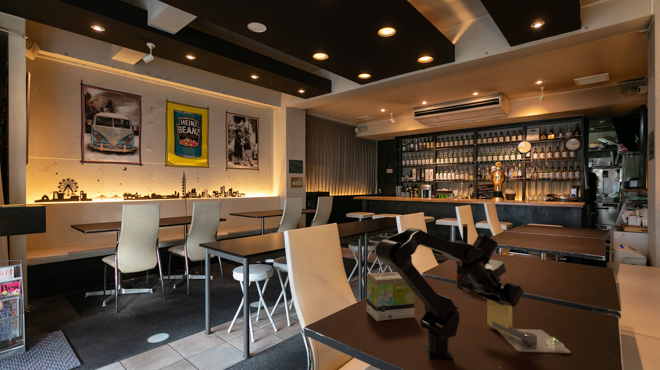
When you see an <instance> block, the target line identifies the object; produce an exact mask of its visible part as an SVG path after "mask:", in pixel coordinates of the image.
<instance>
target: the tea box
mask: <svg viewBox="0 0 660 370" xmlns="http://www.w3.org/2000/svg"><path fill="white" fill-rule="evenodd" d="M366 277H367V278H366V312H367V313H368V315H370V316H371V317H372V318H373V319H374V320H375V321H376V322H380V321H387V320H388V321H389V320H397V319H398V320H399V319H411V318H415V306H416V305H415V303H416V302H415V298H416V297H415V296H416V294H415V293H414V291H413V290H412V289H411V288H410V287H409V285H408V284H407V283H406V282H405V281H404V280H403V278H402V277H401V276H400V275H399V274H398V272H397V271H391V272H373V273H367V275H366Z"/></svg>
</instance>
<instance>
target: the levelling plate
mask: <svg viewBox="0 0 660 370" xmlns="http://www.w3.org/2000/svg"><path fill="white" fill-rule="evenodd" d="M516 329H517V330H519V331H521V332H528V333H532V334H535V335H536V336H537V345H528V344H525V343H523V342H522V341H521V339H520V338H518V337H516V336H514V335H511V334H507V333H505V332H503V331H501V330H498V329H496V331H497V332H498V333H499V334H500V335H501V336H502V337H503V338H504V339H505V340H506V341H507V342H508V343H509V344H510V345H511V346H512V347H513V348H514V349H515V350H516V351H517V352H519V353H520V352H524V353H525V352H526V353H527V352H528V353H554V354H556V353H557V354H571V351H570V349H568V348H567V347H566V346H565V344H564V343H562V342H561V341H560V340H559V339H557V338H556V337H555V336H551V335H549V333H547V332H545V331H544V330H543V329H532V328H531V329H530V328H529V329H528V328H527V329H525V328H516Z"/></svg>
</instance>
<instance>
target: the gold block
mask: <svg viewBox="0 0 660 370" xmlns="http://www.w3.org/2000/svg"><path fill="white" fill-rule="evenodd" d="M486 312H487V313H486V314H487V315H486V318H487V320H486V321H487V323H486V324H487V326H490V327H492V328H494V329H496V330H497V329H498V330H501V331H503V332H505V333H507V334H511V335H514V336H516V337H518V338H520V339H521V341H522V342H523V343H525V344H528V345H537V336H536V335H535V334H532V333H528V332H521V331H519V330H517V329H518V328H514V327H513V307H512V306H509V305H506V304H503V305H500V304H497V303H495V302H493V301H490V300H488V299H486Z"/></svg>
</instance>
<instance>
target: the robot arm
mask: <svg viewBox="0 0 660 370" xmlns="http://www.w3.org/2000/svg"><path fill="white" fill-rule="evenodd" d="M419 246H421V247H424V248H427V249H430V250H433V251H436V252H439V253H441V254H442V256H444V257H445V258H448V259H449V260H451V261H454V262H456V261H457V262H461V264H460V265H458V269H457V268H456V275H457V274H460V275H463V276H464V278H463V279H462V281H461V283H460V286H461V288H462V289H461V290H463V291H465V292H469V293H471V291H472V290H471V289H470V287H471V285H475V289H474V290H475V291H476V292H478V293H477V295H478V296H479V297H481V298H484V299H486V300H487V299H488V300H490V301H493V302H495V303H497V304H500V305H503V304H506V305H509V306H512V308H514V307H516V306H517V305H518V303H519V302H520V299H521V297H522V295H523V293H525V292H524V289H523V287H521V285H519V284H517V283H511V282H505V284H504V283H503V282H501V281H502V279H501V278H500V277H501V276H503V274H506V273H507V269H506V266H505V263H504V261H501V260H496V259H491V258H492V257H493V256H494V254H495V252H496V251H497V249H498V247H499V243H498V242H497V241H495V240H494V239H493V238H491V237H490V236H487V235H486V234H483V233H478V235H477V237H476V239H475V240H474V242H473V243H472V244H471V243H468V244H466V243H463V242H460V241H454V240H447V239H445V238H443V237H439V236H437V235H434V234H432V233H428V232H427V231H424V230H422V229H420V228H414V227H408V228H406V229H404V230H403V231H401V232H399V233H397V234H394V235H391V236H389V237H388V238H386V239H381V240H380V241H379V242H378V243H377V245H376V247H375V256H376V258H377V259H378V260H379V261H380V262H383V264H384V265H386V266H388V267H389V268H391V269H392V270H394V272H398V274H399V275H400V276H401V277H402V278H403V280H404V281H405V282H406V283H407V284H408V285H409V287H410V288H411V289H412V290H413V291H414V293H415V296H417V298H418V299H419V300H420V301H421V302H422V303H423V305H424V312H425V313H424V314H423V316H422V317H421V319H420V321H419V322H420V325H421V328H423V329H426V330H427V345H424V350H425V352H426V354H427V356H428V358H429V359H431V360H432V359H433V360H454V356H453V354H452V353H451V351H450V338H453V337H455V336H457V332H458V328H459V324H460V316H461V315H460V312H459V310H458V309H459V307H458V306H456V305H455V303H454V302H453V300H452V299H451V298H449V297H446V296H444V295H442V294H439V293H437V291H435V290H434V289H433V288H432V286H431V285H430V284H429V282H428V281H427V280H426V279H425V277H424V276H423V275H422V274H421V273H420V271H419V270H418V269H417V268H416V267H415V265H414V264H413V260H412V259H413V258H412V256H413V254H415V252H416V251H417V249H418V247H419Z"/></svg>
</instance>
